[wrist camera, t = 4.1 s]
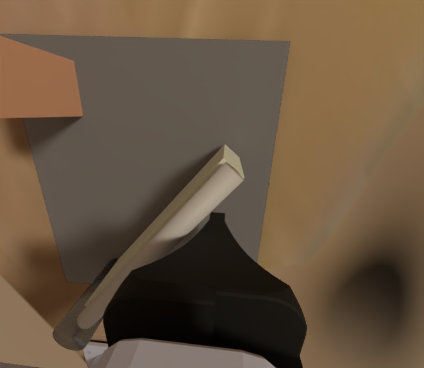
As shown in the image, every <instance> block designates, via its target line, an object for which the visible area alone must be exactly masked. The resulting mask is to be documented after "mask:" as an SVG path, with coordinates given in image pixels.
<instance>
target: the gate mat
mask: <svg viewBox="0 0 424 368" xmlns="http://www.w3.org/2000/svg"><path fill="white" fill-rule="evenodd" d="M0 36H2V37H5V38H8V39H11V40H14V41H17V42H20V43H23V44H26V45H29V46H32V47H35V48H38V49H41V50H44V51H47V52H49V53H52V54H55V55H58V56H61V57H64V58H67V59H70V60H73V61H74V64H75V70H76V76H77V82H78V88H79V94H80V100H81V106H82V112H83V116H76V117H32V118H23V122H24V126H25V129H26V133H27V137H28V141H29V144H30V148H31V152H32V156H33V159H34V163H35V167H36V171H37V174H38V178H39V182H40V185H41V189H42V193H43V197H44V200H45V204H46V208H47V212H48V215H49V219H50V223H51V226H52V230H53V234H54V238H55V241H56V245H57V249H58V253H59V256H60V260H61V264H62V268H63V271H64V275H65V279H66V281H67V282H77V283H87V284H91V283H92V282H93V281H94V280H95V278H96V277H97V276H98V275H99V273H100V272H101V271H102V270H103V268H104V267H105V266H106V265H107V263H108V262H109V261H110V260H112V259H116V258H117V259H119V258H120V257H121V256H122V255H123V254H124V253H125V252H126V250H127V249H128V248H129V247H130V246H131V245H132V244H133V243H134V242H135V241H136V240H137V239H138V237H139V236H140V235H141V234H142V233H143V232H144V231H145V230H146V229H147V228H148V227H149V226H150V224H151V223H152V222H153V221H154V220H155V219H156V218H157V217H158V216H159V215H160V214H161V213H162V211H163V210H164V209H165V208H166V207H167V206H168V205H169V204H170V203H171V202H172V201H173V200H174V198H175V197H176V196H177V195H178V194H179V193H180V192H181V191H182V190H183V189H184V188H185V187H186V185H187V184H188V183H189V182H190V181H191V180H192V179H193V178H194V177H195V176H196V175H197V174H198V172H199V171H200V170H201V169H202V168H203V167H204V166H205V165H206V164H207V163H208V162H209V161H210V159H211V158H212V157H213V156H214V155H215V154H216V153H217V152H218V151H219V150H220V149H221V148H222V146H223V145H224V144H226V145H227V146H228V147H229V148H230V149H231V150H232V151H233V152H234V153H235V154H236V155H237V156H238V157H239V158H240V162H241V166H242V170H243V174H244V178H243V179H244V181H243V182H241V183H240V184H239V185H238V186H237V187H236V188H235V189H234V190H233V191H232V192H231V193H230V194H229V195H228V196H227V197H226V198H225V199H224V200H223V201H222V202H221V203H220V204H219V205H218V206H217V207H216V208H214V209H213V210H212V211H211V212H217V213H225V222H226V224H227V226H228V228H229V230H230V232H231V233H232V235H233V237H234V238H235V240H236V241H237V242H238V244H239V245H240V246H241V248H242V249H243V250H244V251H245V252H246V253H247V254H248V255H249V256H250V257H251V258H252V259H253V260H254V261H255V262H256V263H257V259H258V252H259V246H260V239H261V232H262V226H263V219H264V213H265V206H266V199H267V193H268V186H269V179H270V173H271V166H272V159H273V153H274V146H275V139H276V133H277V126H278V120H279V113H280V106H281V100H282V93H283V86H284V80H285V73H286V66H287V60H288V53H289V46H290V41H259V40H220V39H181V38H142V37H103V36H65V35H26V34H0ZM211 212H210V213H209V214H208V215H207V216H206V217H205V218H204V219H203V220H202V221H201V222H200V223H199V224H198V225H197V226H196V227H195V228H194V229H193V230H192V231H191V232H190V233H188V234H187V235H186V236H185V237H184V238H183V239H182V240H181V241H180V242H179V243H178V244H177V245H176V246H175V247H174V248H173V249H172V250H171V251H170V252H169V253H168V254H167V255H169V254H171V253H172V252H174V251H175V250H177V249H179V248H180V247H182V246H183V245H184V244H186V243H187V242H188V241H189V240H191V239H192V238H193V237H194V236H195V235H196V234H197V233H198V232H199V231H200V230H201V229H202V228H203V227H204V225H205V224H206V223H207V222H208V220H209V219H210V214H211ZM167 255H166V256H167Z"/></svg>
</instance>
